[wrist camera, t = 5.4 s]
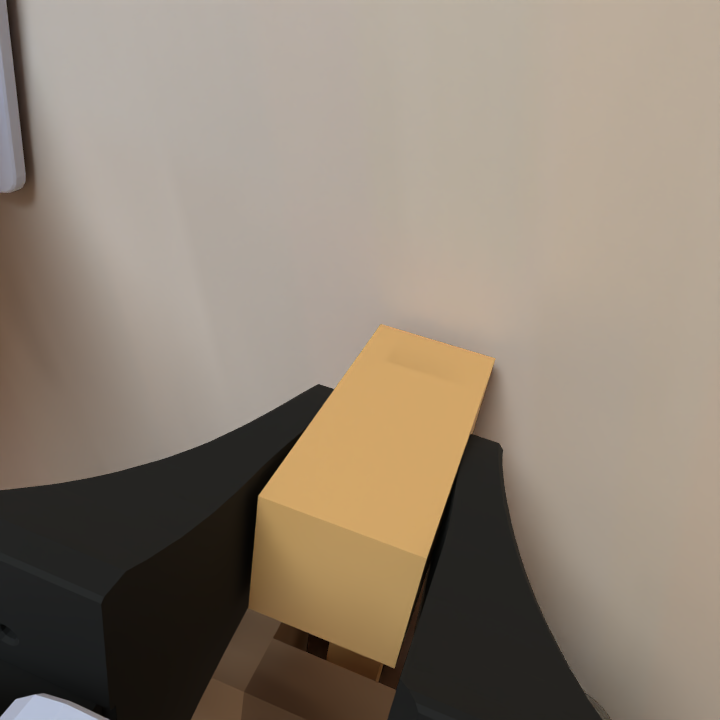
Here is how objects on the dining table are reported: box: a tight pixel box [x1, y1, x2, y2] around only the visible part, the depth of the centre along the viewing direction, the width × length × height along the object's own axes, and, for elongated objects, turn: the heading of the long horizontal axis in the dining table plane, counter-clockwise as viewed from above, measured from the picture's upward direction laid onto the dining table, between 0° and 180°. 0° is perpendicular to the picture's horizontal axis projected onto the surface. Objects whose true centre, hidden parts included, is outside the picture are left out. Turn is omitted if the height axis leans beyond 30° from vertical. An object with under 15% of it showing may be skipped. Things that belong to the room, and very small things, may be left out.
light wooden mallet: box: [248, 324, 495, 682], centre depth 16 cm, size 3×13×6 cm, turn 171°
